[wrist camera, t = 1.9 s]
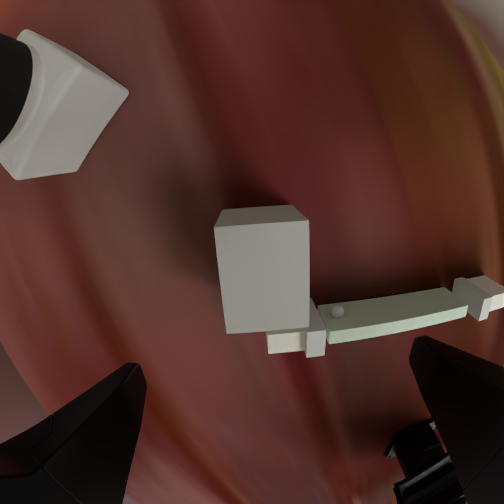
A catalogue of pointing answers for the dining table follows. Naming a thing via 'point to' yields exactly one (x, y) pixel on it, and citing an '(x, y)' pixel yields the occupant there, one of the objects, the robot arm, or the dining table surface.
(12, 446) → the robot arm
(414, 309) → the pale green curved bar
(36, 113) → the medicine bottle
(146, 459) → the dining table surface
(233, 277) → the grey cube block
